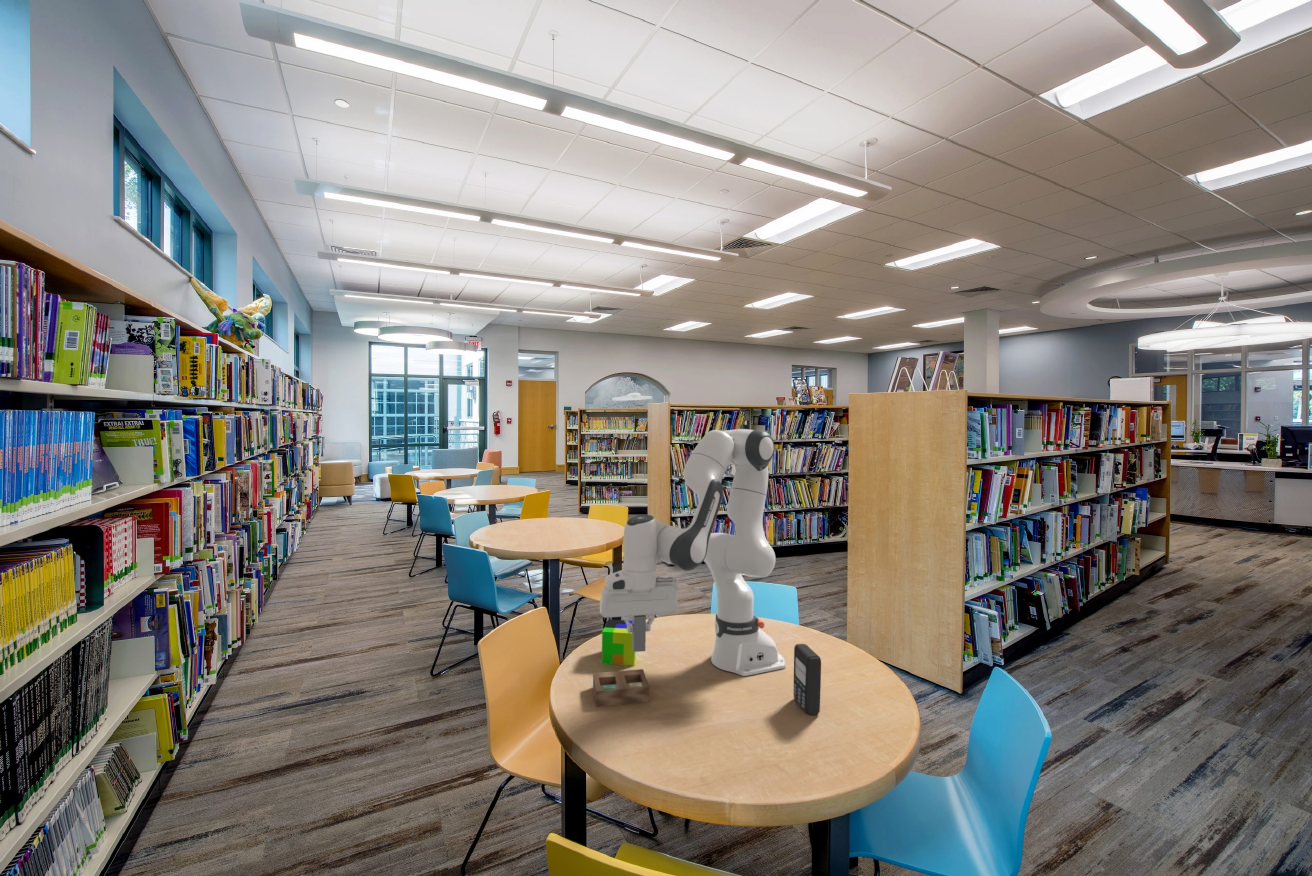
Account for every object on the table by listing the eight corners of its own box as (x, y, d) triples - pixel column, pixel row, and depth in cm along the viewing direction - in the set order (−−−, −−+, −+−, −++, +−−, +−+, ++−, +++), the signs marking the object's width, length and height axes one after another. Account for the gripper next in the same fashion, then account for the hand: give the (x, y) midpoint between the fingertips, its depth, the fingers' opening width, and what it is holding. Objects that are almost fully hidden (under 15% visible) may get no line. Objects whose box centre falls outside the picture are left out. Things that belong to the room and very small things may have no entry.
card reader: (790, 697, 143) (792, 643, 142) (804, 696, 144) (806, 642, 143) (806, 716, 134) (807, 658, 133) (821, 715, 135) (822, 657, 134)
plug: (643, 646, 140) (643, 612, 140) (645, 651, 137) (645, 616, 137) (631, 647, 139) (632, 613, 139) (633, 651, 136) (634, 617, 136)
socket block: (642, 683, 150) (642, 668, 150) (649, 701, 140) (649, 686, 140) (593, 687, 147) (593, 672, 147) (596, 706, 137) (596, 690, 137)
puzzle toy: (638, 651, 170) (639, 620, 170) (634, 666, 160) (634, 633, 160) (608, 649, 171) (608, 619, 171) (601, 664, 161) (602, 631, 161)
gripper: (675, 573, 143) (674, 624, 143) (599, 576, 139) (598, 629, 139) (681, 580, 137) (680, 633, 137) (602, 584, 132) (601, 638, 133)
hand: (638, 631), depth 138 cm, fingers closed on plug, 3 cm apart
